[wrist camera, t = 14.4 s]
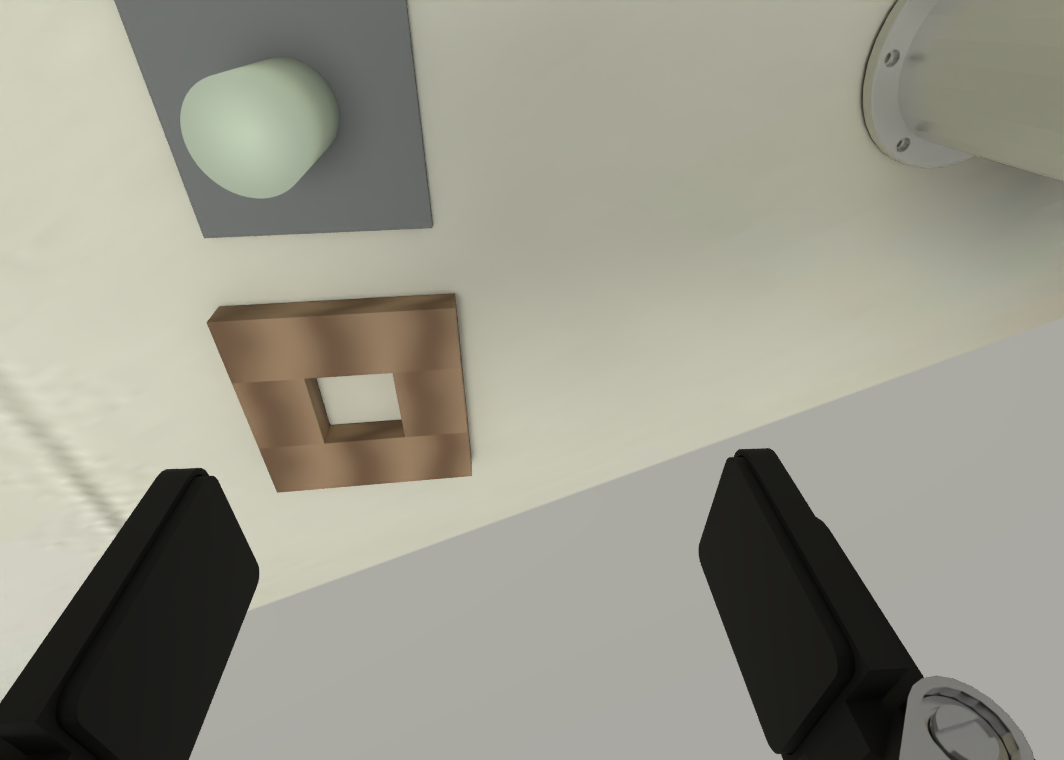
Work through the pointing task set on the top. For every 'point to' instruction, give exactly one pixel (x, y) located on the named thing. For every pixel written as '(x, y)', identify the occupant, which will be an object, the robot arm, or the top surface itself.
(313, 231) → the rubber pad
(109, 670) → the robot arm
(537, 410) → the top surface
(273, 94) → the sage peg
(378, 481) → the pocket block
